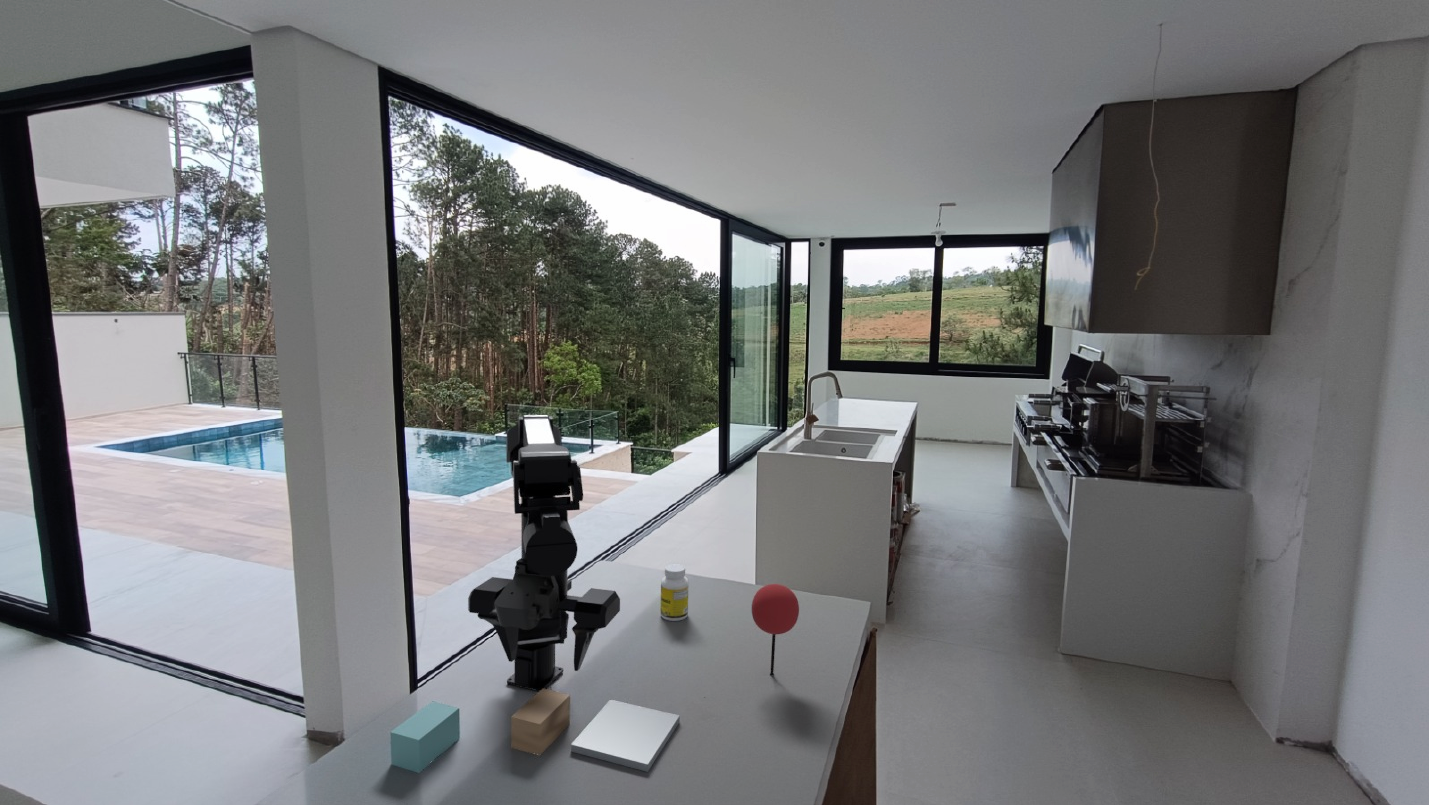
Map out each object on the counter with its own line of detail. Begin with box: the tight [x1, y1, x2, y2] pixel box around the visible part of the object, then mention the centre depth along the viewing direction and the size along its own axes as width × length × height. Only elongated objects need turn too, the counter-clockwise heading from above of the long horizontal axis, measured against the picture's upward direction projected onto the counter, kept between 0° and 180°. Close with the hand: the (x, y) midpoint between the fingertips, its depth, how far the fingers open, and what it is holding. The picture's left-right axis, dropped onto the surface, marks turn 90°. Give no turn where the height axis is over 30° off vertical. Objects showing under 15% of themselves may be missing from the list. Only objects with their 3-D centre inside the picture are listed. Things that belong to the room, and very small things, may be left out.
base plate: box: [570, 699, 681, 773], centre depth 86 cm, size 11×11×1 cm
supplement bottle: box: [659, 563, 689, 622], centre depth 123 cm, size 5×5×10 cm
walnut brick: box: [510, 688, 571, 756], centre depth 86 cm, size 7×4×4 cm, turn 161°
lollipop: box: [751, 583, 800, 676], centre depth 103 cm, size 8×8×15 cm
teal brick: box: [390, 700, 461, 774], centre depth 82 cm, size 7×4×4 cm, turn 162°
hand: (544, 664), depth 82 cm, fingers open, 9 cm apart
